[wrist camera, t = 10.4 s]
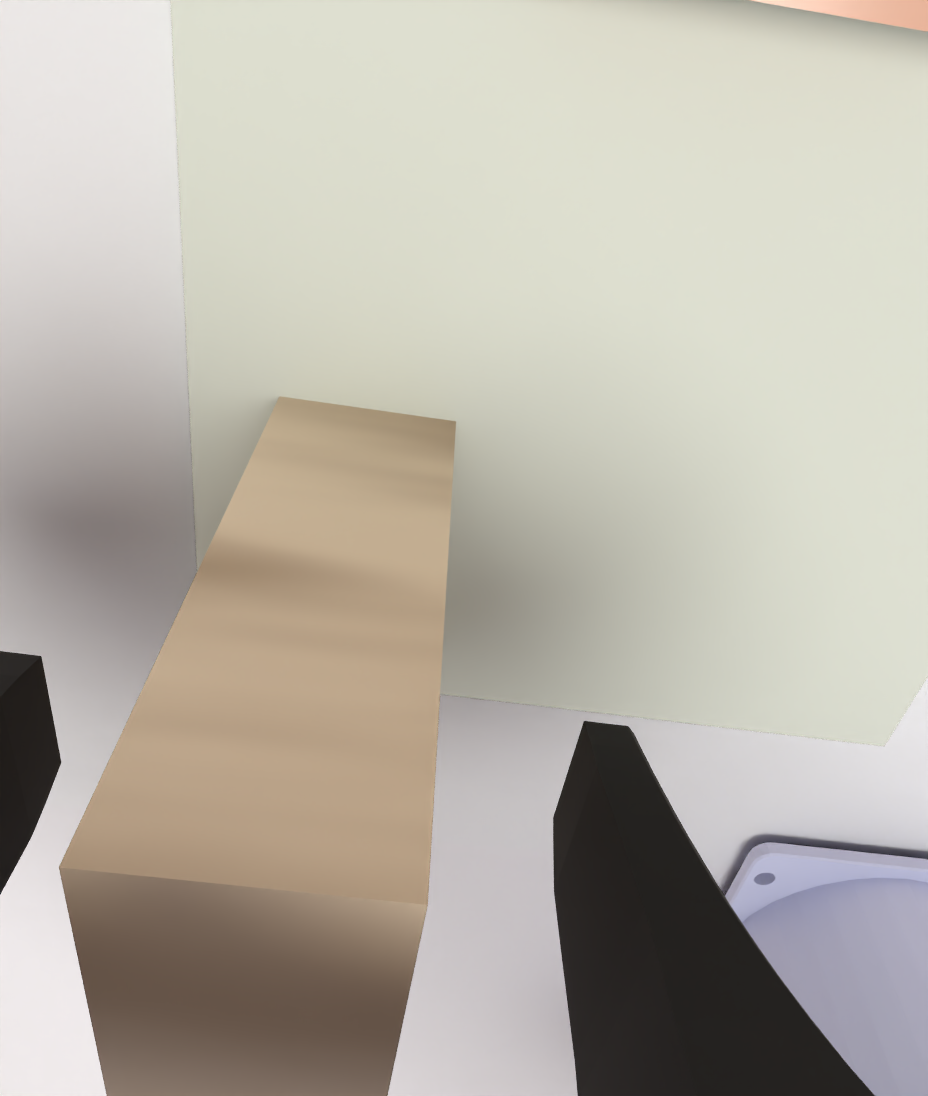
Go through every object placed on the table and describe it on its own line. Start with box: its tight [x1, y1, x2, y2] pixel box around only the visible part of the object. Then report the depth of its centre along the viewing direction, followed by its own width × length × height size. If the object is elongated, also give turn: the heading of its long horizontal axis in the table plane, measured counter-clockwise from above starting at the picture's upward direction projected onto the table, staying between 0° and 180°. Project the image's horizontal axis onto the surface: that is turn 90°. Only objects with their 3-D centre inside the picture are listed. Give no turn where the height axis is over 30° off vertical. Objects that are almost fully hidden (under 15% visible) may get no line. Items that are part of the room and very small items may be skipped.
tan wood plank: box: [59, 396, 456, 1096], centre depth 12 cm, size 5×3×9 cm, turn 172°
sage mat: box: [170, 0, 928, 746], centre depth 12 cm, size 22×15×1 cm
